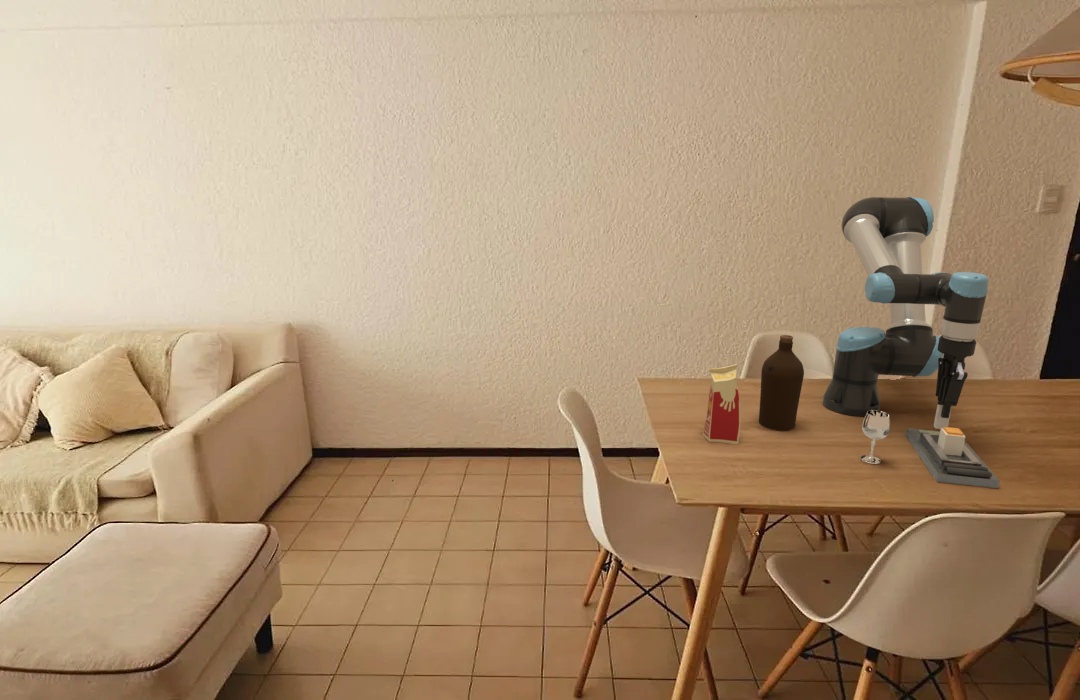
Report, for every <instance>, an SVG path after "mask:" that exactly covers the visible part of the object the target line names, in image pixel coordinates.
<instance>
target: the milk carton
mask: <svg viewBox="0 0 1080 700" xmlns="http://www.w3.org/2000/svg"><path fill="white" fill-rule="evenodd" d="M737 368H738V363H735V364H731V365H728V366H727V365H726V366H724V367H718V368H717V367H716V368H708V369H707V370H708V371H709V372H710V375H711V377H712V379H711V384H710V388H709V394H708V400H707V401H708V402H707V409H706V418H705V422H704V428H703V432H702V433H703V434H702V436H703V437H704V438H705V440H707V441H708V442H709V443H724V444H731V445H732V444H733V445H739V441H740V433H741V426H742V415H741V411H742V410H741V395H740V391H739V387H738V381H737Z"/></svg>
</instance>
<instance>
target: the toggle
mask: <svg viewBox="0 0 1080 700" xmlns="http://www.w3.org/2000/svg"><path fill="white" fill-rule="evenodd" d="M939 431H940V434H939V440H938V446H939V447H940V449H941V450H942V451H943V453H944V454H945V455H955V456H961V455H962V451H963V446H964V441H965V442H966V440H965V439H966V435H965V434H964V432H963V431H962V430H961V429H960V428H959V427H950V426H948V427H943V428H941V429H939Z"/></svg>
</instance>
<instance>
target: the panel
mask: <svg viewBox="0 0 1080 700" xmlns="http://www.w3.org/2000/svg"><path fill="white" fill-rule="evenodd" d="M904 434H905V437H906V439H907V441H908V442H909V443H910V445H911V446H912V447H913V449H914V451H915V452H916V454H917V455H918V456H919V457H920V459H921V460H922V462H923V464H924V465H925V466H926V468H927V469H928V471H929V472H930V475H932V477H933V478H934V480H935V481H936V482H938V483H945V484H947V483H948V484H954V485H964V486H972V487H981V488H990V489H991V488H992V489H997V488H998V489H999V485H1000V481H1001V480H1000V479H999V478H998V477H997V475H996V474H995V473H994V472H993V471H992V470H991V469H990V468H989V466H988V465H987V464H986V463H985V462H984V461H983V460H982V458H981V457H980V456H979V455H978V454H977V453H976V452H975V450H974V449H973V448H972V447H971V446H970V445H969V444H968V443H967V441H966V440H965V441H964V446H963V451H962V455H961V456H955V455H945V454H944V453H943V451H942V450H941V449H940V447H939V446H938V440H939V434H940V430H930V429H929V430H928V429H919V428H910V427H906V429H905V433H904ZM944 463H953V464H962V465H972V466H981V467H986V468H988V471H989V472H991V473H992V477H990V478H986V477H977V476H968V475H959V474H950V473H947V471H946V469H944V468H943V464H944Z"/></svg>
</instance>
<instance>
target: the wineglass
mask: <svg viewBox="0 0 1080 700" xmlns="http://www.w3.org/2000/svg"><path fill="white" fill-rule="evenodd" d="M890 428H891V419H890V415H889V414H888V413H887V412H885V411H882V410H880V411H878V410H869V411H867V413H866V415H865V416H864V418H863V421H862V426H861V429H862V433H863V435H865V436H866V437H867V438H869V439H870V440H871V439H872V440H871V441H870V446H871V447H870V453H869V455H866V454H864V455H861V456H860V457H859V458H860V460H861V461H862V462H863V463H867V464H870V465H871V464H872V465H877V464H878V465H879V464H881V462H882V461H881V459H880V458H878V457H877V456H874V455H873V452H874V448H875V446H876V444H877V440H883V439H884V438H886V437H887V436H888V435H889V432H890Z"/></svg>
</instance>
